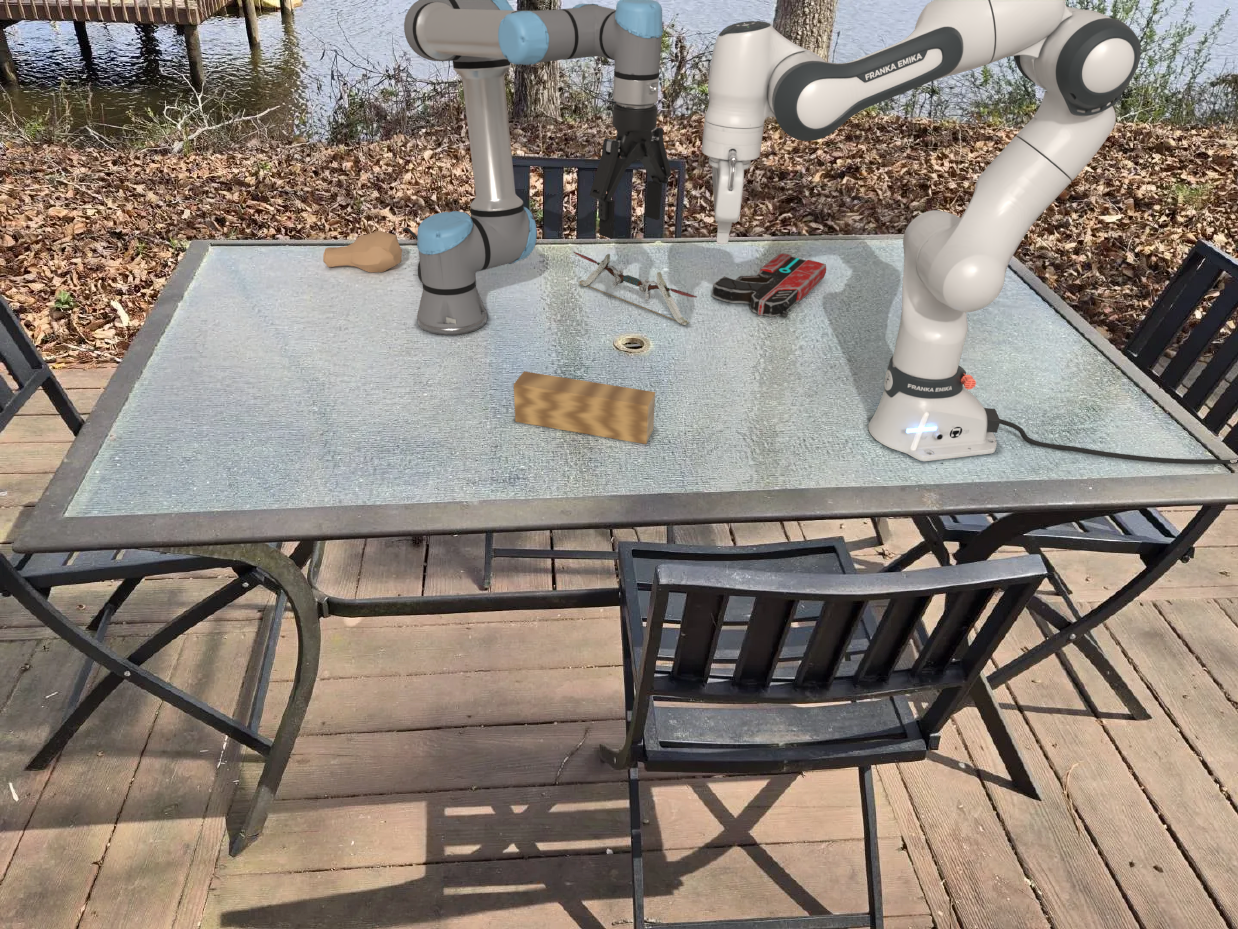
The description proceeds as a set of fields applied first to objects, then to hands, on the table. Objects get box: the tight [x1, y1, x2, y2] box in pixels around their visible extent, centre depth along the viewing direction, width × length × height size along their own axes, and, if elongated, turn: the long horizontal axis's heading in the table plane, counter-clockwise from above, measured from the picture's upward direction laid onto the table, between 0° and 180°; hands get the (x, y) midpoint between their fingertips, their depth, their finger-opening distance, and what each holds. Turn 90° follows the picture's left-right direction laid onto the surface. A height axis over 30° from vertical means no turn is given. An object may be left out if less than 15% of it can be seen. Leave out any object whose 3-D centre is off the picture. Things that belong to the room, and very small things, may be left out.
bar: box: [513, 370, 656, 445], centre depth 159 cm, size 25×5×8 cm, turn 74°
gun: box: [711, 252, 827, 318], centre depth 215 cm, size 4×31×19 cm
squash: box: [322, 230, 403, 273], centre depth 220 cm, size 11×20×9 cm, turn 90°
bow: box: [573, 251, 698, 326], centre depth 205 cm, size 39×2×10 cm, turn 47°
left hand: (630, 226), depth 159 cm, fingers open, 13 cm apart
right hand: (721, 232), depth 139 cm, fingers open, 8 cm apart
